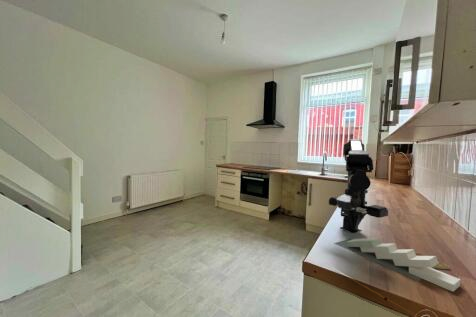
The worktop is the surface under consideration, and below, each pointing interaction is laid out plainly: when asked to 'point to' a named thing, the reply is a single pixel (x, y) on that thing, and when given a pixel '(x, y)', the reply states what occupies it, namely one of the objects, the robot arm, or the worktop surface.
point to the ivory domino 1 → (380, 248)
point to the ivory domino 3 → (417, 261)
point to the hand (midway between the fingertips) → (354, 229)
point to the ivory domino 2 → (397, 254)
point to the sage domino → (363, 242)
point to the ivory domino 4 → (436, 277)
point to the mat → (379, 260)
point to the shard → (439, 265)
